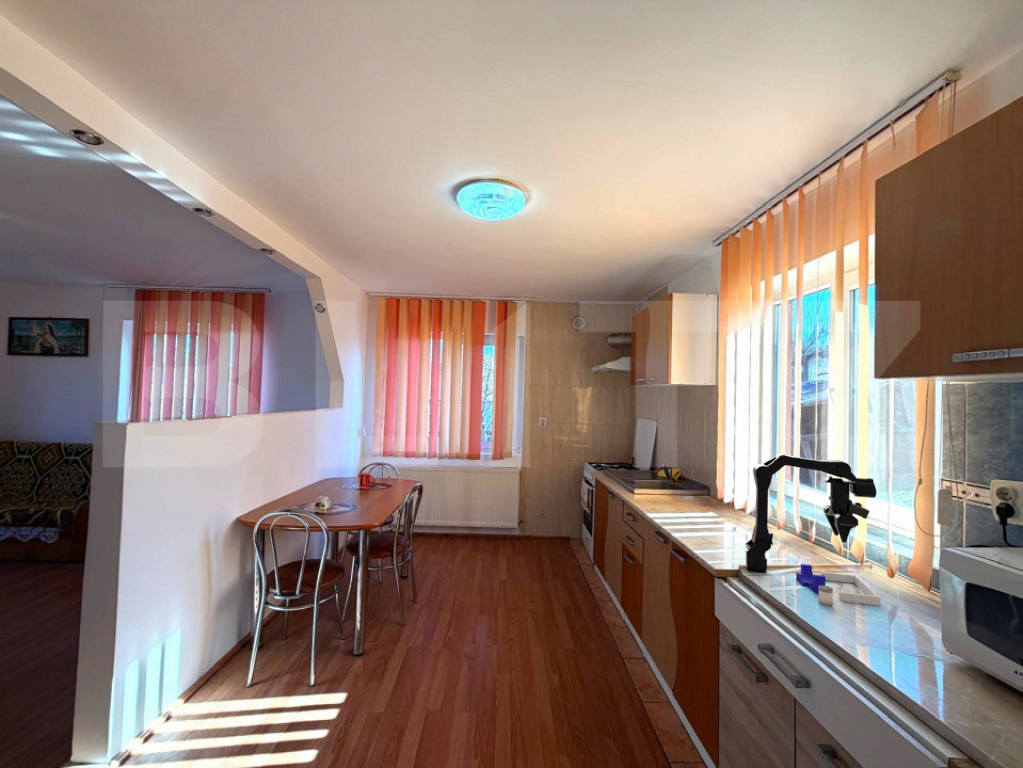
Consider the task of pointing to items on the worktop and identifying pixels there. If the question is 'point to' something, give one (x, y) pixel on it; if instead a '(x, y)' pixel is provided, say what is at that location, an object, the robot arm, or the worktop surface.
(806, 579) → the cable clip
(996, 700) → the worktop surface
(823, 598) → the grey cylinder
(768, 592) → the worktop surface
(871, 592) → the parts tray
